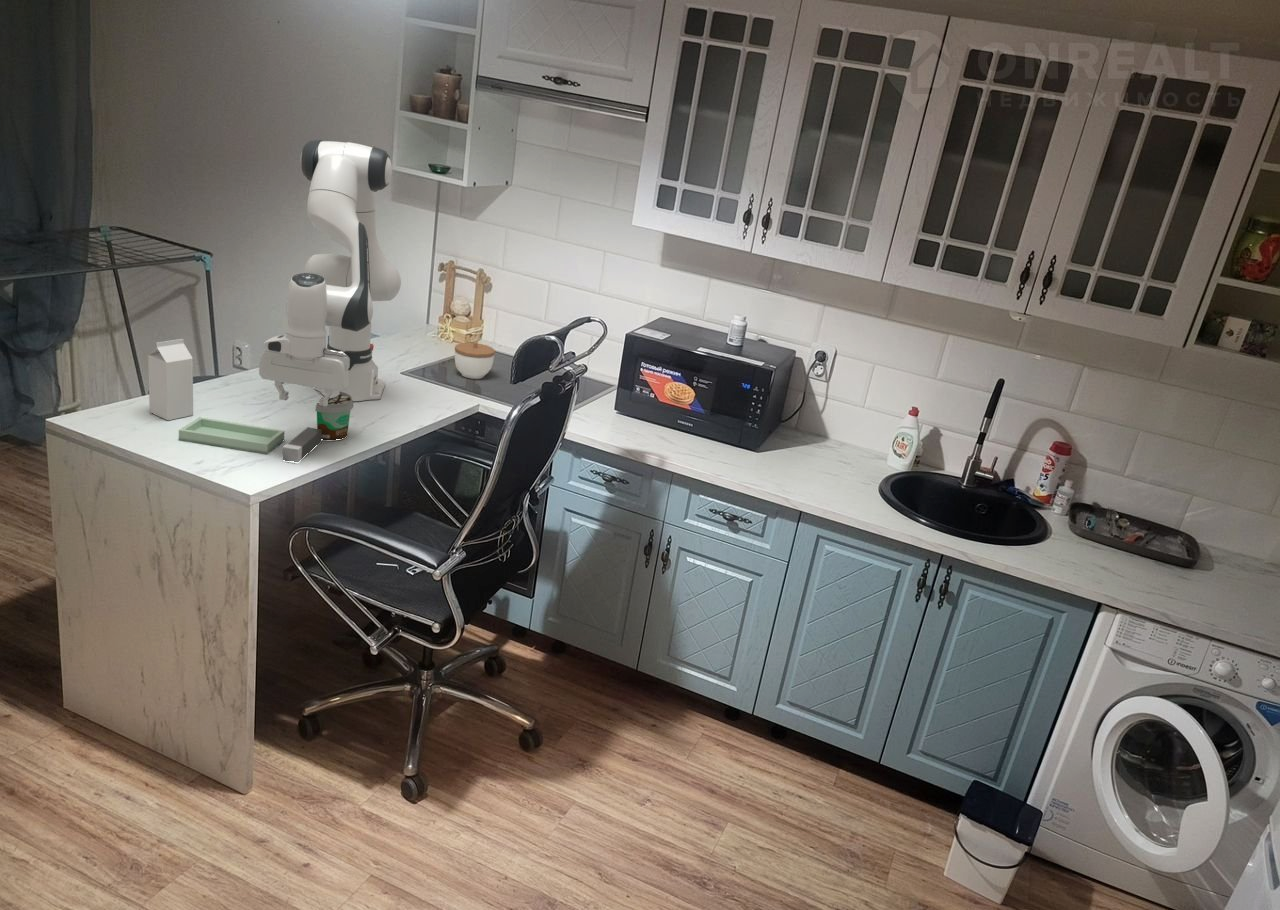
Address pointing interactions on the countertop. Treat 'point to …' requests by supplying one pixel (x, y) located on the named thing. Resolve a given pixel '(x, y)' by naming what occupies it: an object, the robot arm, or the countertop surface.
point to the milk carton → (171, 380)
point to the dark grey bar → (302, 444)
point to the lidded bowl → (473, 359)
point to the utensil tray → (231, 435)
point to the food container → (335, 417)
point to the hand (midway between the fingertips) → (303, 402)
